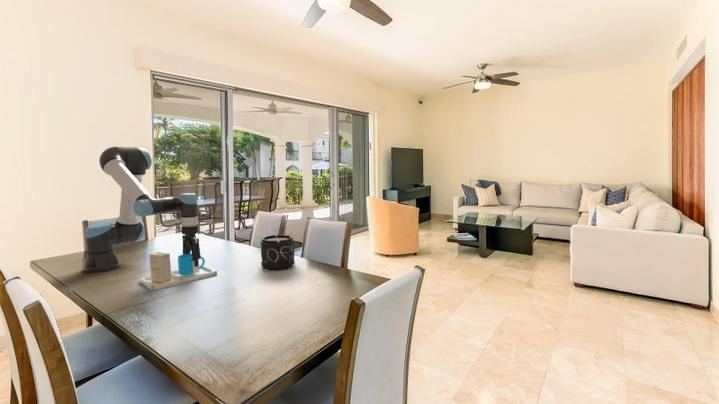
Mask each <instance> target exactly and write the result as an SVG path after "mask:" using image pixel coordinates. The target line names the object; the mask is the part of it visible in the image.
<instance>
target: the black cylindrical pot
mask: <svg viewBox="0 0 719 404" xmlns="http://www.w3.org/2000/svg"><path fill="white" fill-rule="evenodd" d="M294 244H295V241H294V239H293V236H291V235H289V234H277V235H276V234H272V235H267V236H263V237H262V238H261V240H260V256H261V262H260V265H261V267H262V268H263V270H265V271H268V270H269V272H274V271H275V272H280V271H281V270H282V271H285V270H286V269H287V270H290V269H291V268H293V267H294V265H295V263H296V262H295V245H294ZM292 266H293V267H292ZM289 268H290V269H289Z"/></svg>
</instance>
